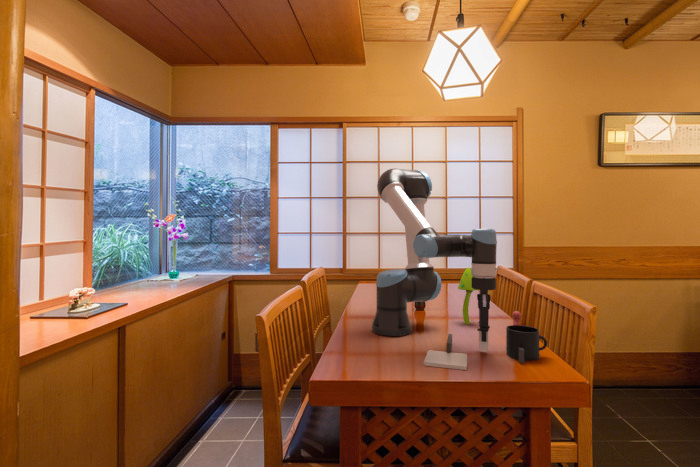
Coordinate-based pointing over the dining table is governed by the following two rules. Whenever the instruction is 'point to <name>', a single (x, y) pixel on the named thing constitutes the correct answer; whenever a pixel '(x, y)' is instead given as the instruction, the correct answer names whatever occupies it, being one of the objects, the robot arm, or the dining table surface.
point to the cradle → (516, 321)
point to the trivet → (446, 360)
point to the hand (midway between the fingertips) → (483, 349)
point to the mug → (523, 342)
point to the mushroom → (466, 285)
